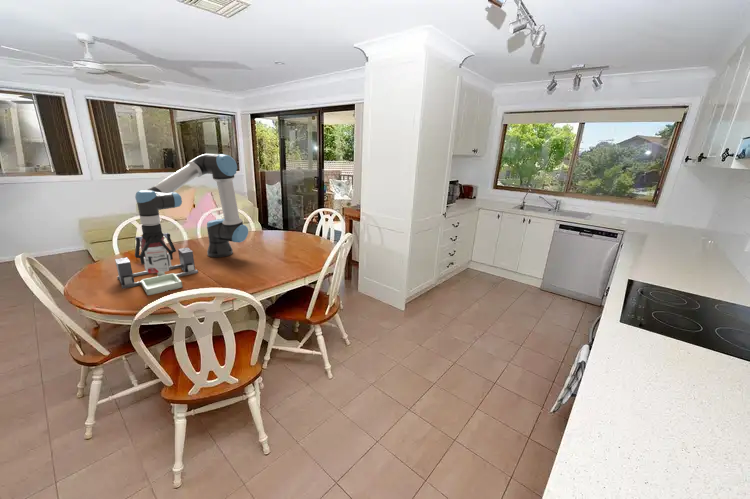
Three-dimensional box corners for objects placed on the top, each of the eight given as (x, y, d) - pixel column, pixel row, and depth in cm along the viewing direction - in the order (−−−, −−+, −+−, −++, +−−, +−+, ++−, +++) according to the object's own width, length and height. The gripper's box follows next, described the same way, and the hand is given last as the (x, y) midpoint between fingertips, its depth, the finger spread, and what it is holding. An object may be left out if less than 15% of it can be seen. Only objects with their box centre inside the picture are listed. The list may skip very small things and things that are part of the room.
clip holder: (190, 265, 185) (187, 246, 181) (198, 272, 175) (195, 252, 171) (117, 279, 162) (112, 257, 158) (122, 288, 152) (117, 266, 148)
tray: (174, 278, 166) (174, 272, 165) (182, 287, 156) (181, 281, 155) (141, 285, 156) (140, 279, 155) (147, 295, 146) (146, 289, 146)
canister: (144, 261, 187) (138, 233, 182) (141, 255, 196) (136, 228, 191) (169, 257, 195) (164, 230, 190) (165, 252, 204) (161, 226, 199)
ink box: (148, 274, 149) (144, 250, 146) (148, 270, 153) (144, 247, 150) (169, 271, 154) (165, 248, 150) (169, 267, 158) (165, 245, 154)
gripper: (175, 219, 156) (181, 261, 163) (120, 225, 141) (129, 270, 148) (179, 222, 151) (185, 265, 158) (123, 228, 136) (132, 275, 143)
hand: (158, 268), depth 153 cm, fingers closed on ink box, 9 cm apart
